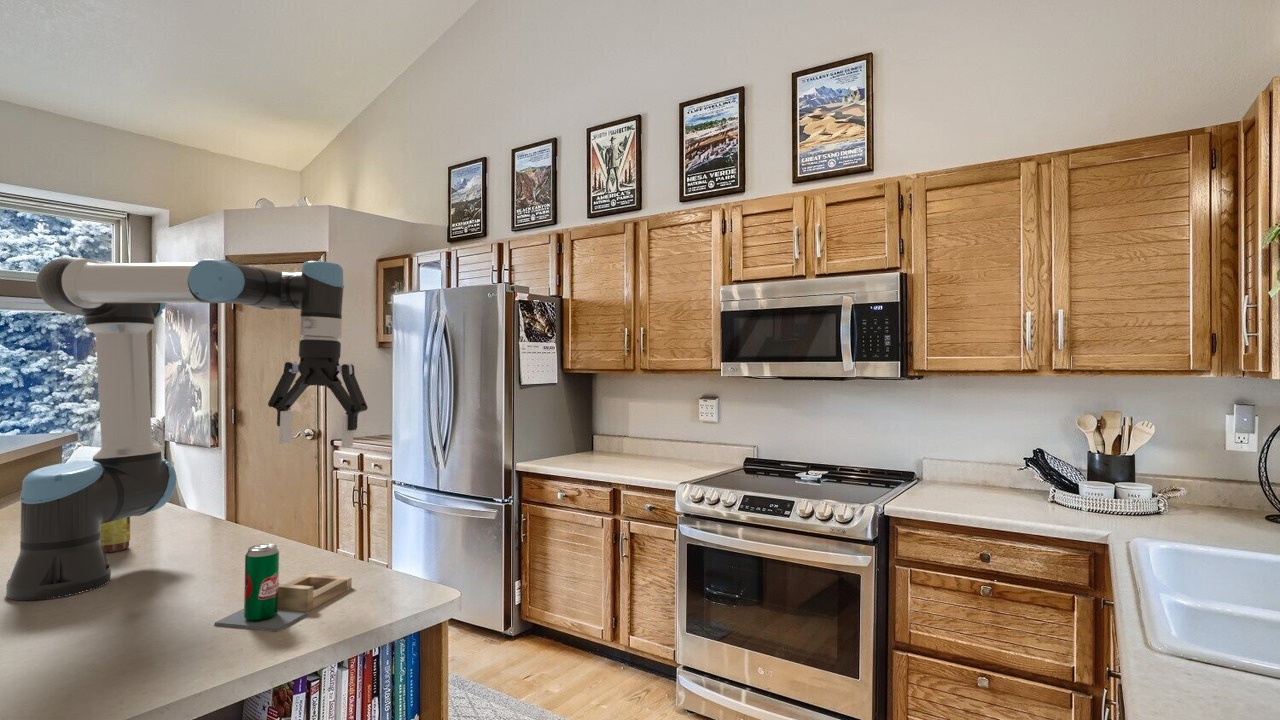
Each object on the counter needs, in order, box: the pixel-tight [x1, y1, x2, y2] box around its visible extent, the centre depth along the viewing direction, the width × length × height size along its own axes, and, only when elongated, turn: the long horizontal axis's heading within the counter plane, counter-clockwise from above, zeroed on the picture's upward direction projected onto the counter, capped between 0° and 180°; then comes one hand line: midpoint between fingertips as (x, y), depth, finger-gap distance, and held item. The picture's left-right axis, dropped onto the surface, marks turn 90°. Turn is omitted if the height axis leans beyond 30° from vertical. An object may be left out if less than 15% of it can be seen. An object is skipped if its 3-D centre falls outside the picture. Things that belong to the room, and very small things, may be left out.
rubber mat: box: [214, 608, 308, 632], centre depth 112 cm, size 12×7×1 cm, turn 80°
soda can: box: [243, 543, 280, 622], centre depth 113 cm, size 5×5×12 cm
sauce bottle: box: [100, 517, 131, 554], centre depth 152 cm, size 7×6×20 cm
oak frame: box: [278, 573, 353, 613], centre depth 124 cm, size 10×13×4 cm
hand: (316, 445), depth 132 cm, fingers open, 13 cm apart
